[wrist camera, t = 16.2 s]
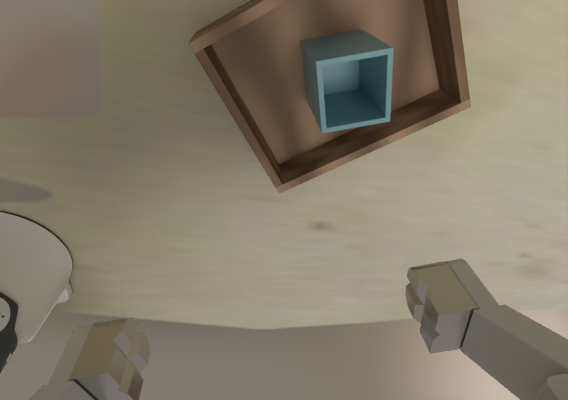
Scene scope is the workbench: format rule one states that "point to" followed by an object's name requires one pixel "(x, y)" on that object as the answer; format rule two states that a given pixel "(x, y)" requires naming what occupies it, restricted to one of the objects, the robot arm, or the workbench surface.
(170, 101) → the workbench surface
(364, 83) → the teal crate
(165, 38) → the workbench surface
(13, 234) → the robot arm
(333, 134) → the walnut crate
